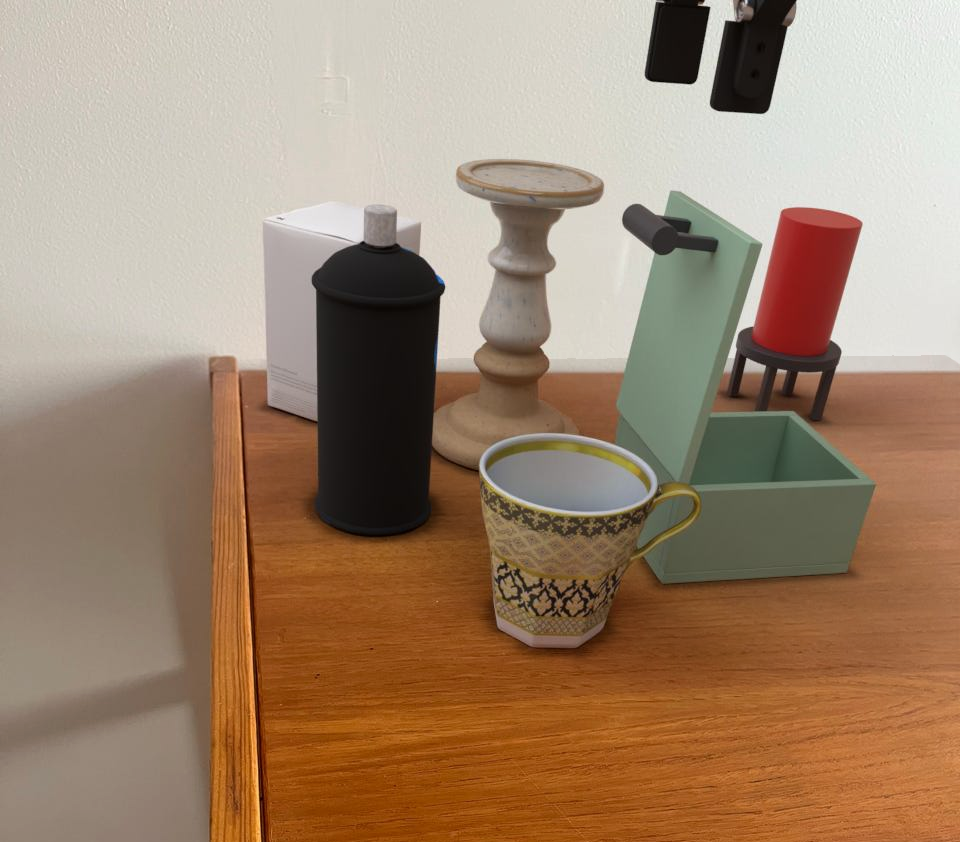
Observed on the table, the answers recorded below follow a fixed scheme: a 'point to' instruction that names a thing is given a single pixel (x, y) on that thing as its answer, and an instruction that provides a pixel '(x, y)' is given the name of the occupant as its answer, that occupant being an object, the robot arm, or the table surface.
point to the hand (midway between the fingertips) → (701, 96)
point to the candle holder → (513, 306)
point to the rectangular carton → (306, 292)
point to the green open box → (757, 502)
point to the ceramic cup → (565, 531)
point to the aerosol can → (376, 381)
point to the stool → (784, 362)
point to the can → (805, 280)
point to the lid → (683, 325)
